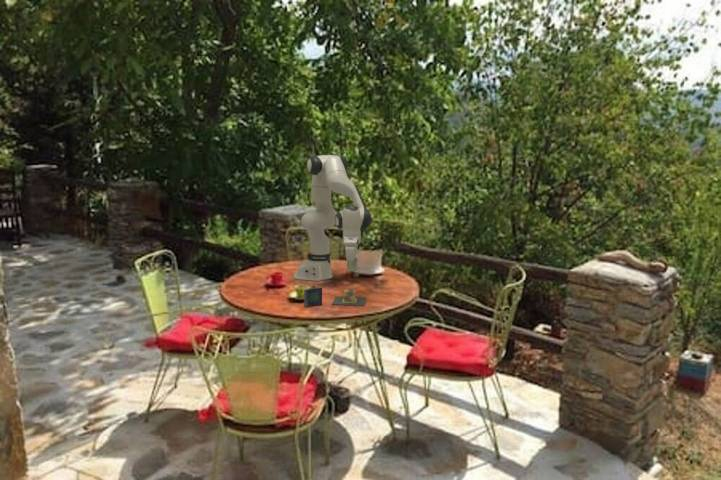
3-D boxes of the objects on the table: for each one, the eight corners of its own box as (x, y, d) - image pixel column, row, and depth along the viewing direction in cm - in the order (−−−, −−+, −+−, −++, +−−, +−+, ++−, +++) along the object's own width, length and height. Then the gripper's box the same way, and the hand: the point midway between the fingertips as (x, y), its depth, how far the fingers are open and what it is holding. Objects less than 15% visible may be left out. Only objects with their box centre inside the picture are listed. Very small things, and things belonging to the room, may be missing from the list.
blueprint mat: (331, 305, 285) (331, 303, 285) (335, 297, 298) (335, 296, 298) (364, 306, 284) (364, 304, 284) (366, 298, 297) (366, 297, 296)
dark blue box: (305, 307, 281) (305, 286, 279) (303, 306, 284) (302, 284, 282) (323, 305, 286) (322, 283, 283) (320, 303, 288) (320, 282, 286)
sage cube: (346, 270, 287) (346, 260, 286) (347, 268, 292) (347, 258, 291) (357, 270, 286) (356, 261, 285) (357, 268, 291) (357, 258, 290)
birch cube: (344, 301, 289) (344, 291, 288) (345, 298, 293) (345, 289, 292) (354, 302, 288) (354, 292, 287) (355, 299, 293) (355, 289, 292)
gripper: (347, 235, 296) (348, 261, 299) (343, 242, 276) (343, 271, 279) (360, 235, 296) (360, 261, 299) (356, 243, 276) (356, 271, 279)
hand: (352, 266), depth 289 cm, fingers closed on sage cube, 5 cm apart
